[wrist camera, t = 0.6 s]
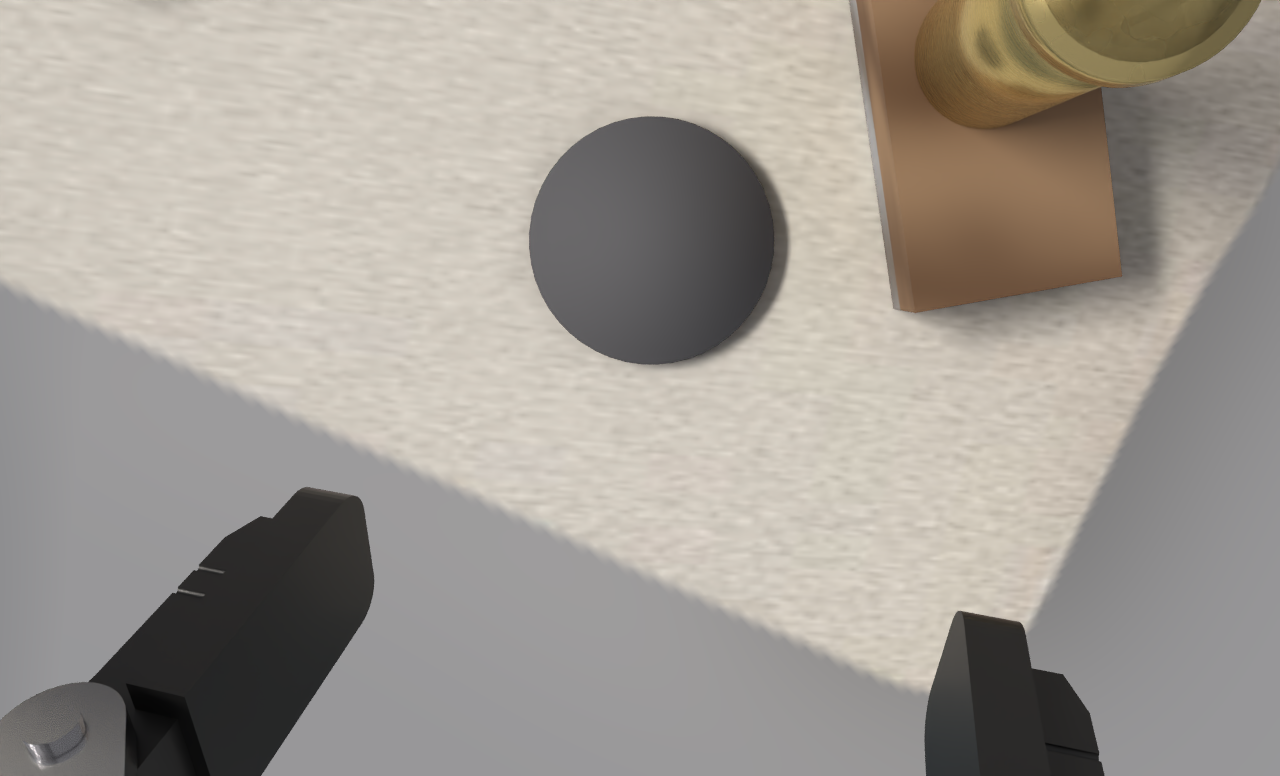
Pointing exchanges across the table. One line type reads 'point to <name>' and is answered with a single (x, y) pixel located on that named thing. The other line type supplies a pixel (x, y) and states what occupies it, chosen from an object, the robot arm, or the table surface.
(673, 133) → the rubber pad
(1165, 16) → the flanged brass cylinder
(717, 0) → the table surface
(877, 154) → the body
